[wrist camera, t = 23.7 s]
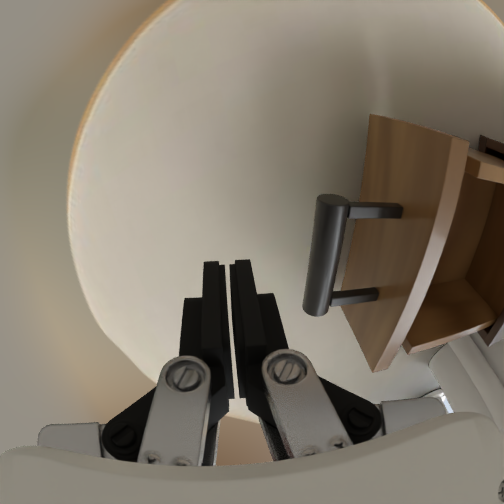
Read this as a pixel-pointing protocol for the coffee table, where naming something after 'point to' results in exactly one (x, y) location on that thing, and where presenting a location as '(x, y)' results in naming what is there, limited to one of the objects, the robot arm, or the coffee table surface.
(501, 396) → the vase
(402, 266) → the drawer
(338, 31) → the coffee table surface
